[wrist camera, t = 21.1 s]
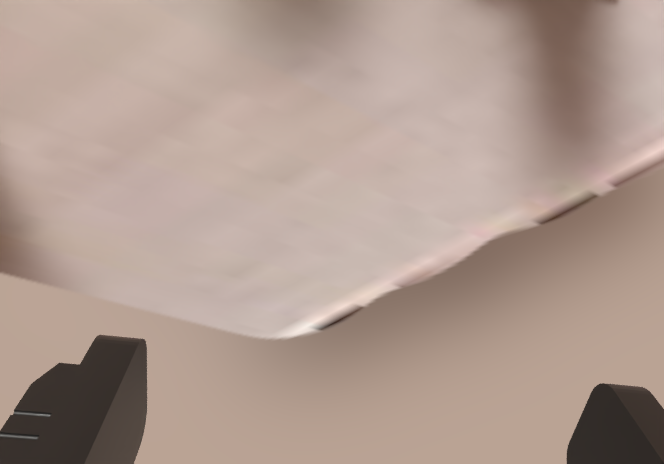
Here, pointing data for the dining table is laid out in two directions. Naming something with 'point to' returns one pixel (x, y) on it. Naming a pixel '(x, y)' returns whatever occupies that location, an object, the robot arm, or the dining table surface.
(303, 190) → the dining table surface
